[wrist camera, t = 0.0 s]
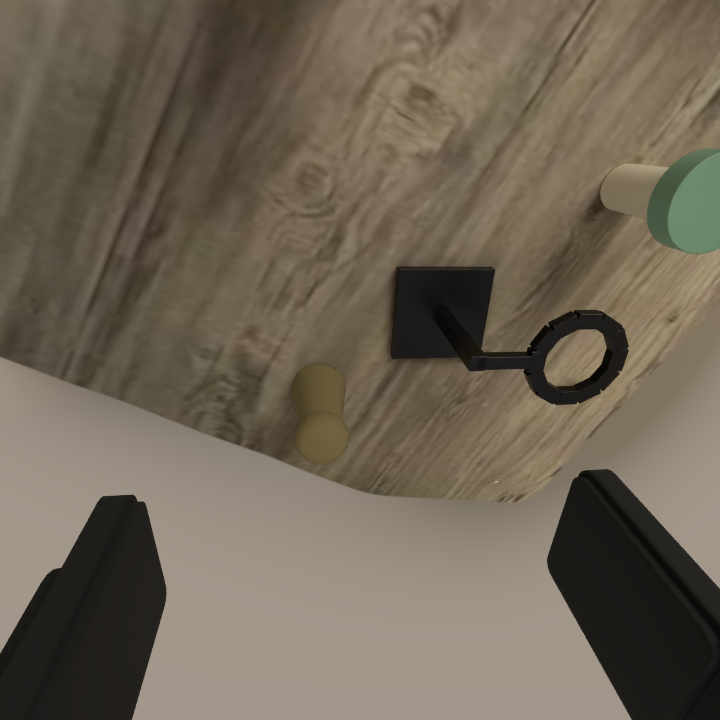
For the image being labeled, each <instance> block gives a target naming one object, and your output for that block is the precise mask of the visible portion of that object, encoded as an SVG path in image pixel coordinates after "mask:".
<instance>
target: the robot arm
mask: <svg viewBox="0 0 720 720" xmlns="http://www.w3.org/2000/svg"><path fill="white" fill-rule="evenodd" d="M547 564H548V569H549V572H550V574H551V576H552V578H553V580H554V581H555V583H556V585H557V587H558V589H559V590H560V592H561V594H562V596H563V597H564V599H565V601H566V603H567V604H568V606H569V608H570V610H571V612H572V614H573V615H574V617H575V619H576V621H577V622H578V624H579V626H580V628H581V630H582V631H583V633H584V635H585V637H586V639H587V640H588V642H589V644H590V646H591V647H592V649H593V651H594V653H595V655H596V656H597V658H598V660H599V662H600V663H601V665H602V667H603V669H604V671H605V673H606V674H607V676H608V678H609V680H610V681H611V683H612V685H613V687H614V689H615V690H616V692H617V694H618V696H619V698H620V699H621V701H622V703H623V705H624V706H625V708H626V710H627V712H628V714H629V716H630V717H631V719H632V720H720V589H719V588H718V586H717V585H716V584H715V583H714V582H713V581H712V580H711V579H710V578H709V576H708V575H707V574H706V573H705V572H704V571H703V570H702V569H701V568H700V567H699V565H698V564H697V563H696V562H695V561H694V560H693V559H692V558H691V557H690V556H689V554H688V553H687V552H686V551H685V550H684V549H683V548H682V547H681V546H680V545H679V543H678V542H677V541H676V540H675V539H674V538H673V537H672V536H671V535H670V534H669V533H668V532H667V530H666V529H665V528H664V527H663V526H662V525H661V524H660V523H659V522H658V520H657V519H656V518H655V517H654V516H653V515H652V514H651V513H650V512H649V511H648V509H647V508H646V507H645V506H644V505H643V504H642V503H641V502H640V501H639V500H638V498H637V497H636V496H635V495H634V494H633V493H632V492H631V491H630V490H629V489H628V488H627V486H626V485H625V484H624V483H623V482H622V481H621V480H620V479H619V478H618V476H617V475H616V474H615V473H613V472H612V471H611V470H608V469H604V470H586V471H582V472H581V473H580V474H579V476H578V477H577V478H575V479H574V480H573V481H572V484H571V487H570V490H569V493H568V496H567V499H566V503H565V505H564V508H563V512H562V515H561V517H560V520H559V524H558V527H557V530H556V533H555V536H554V539H553V542H552V545H551V548H550V551H549V554H548V559H547ZM165 602H166V585H165V580H164V576H163V572H162V569H161V564H160V561H159V556H158V552H157V548H156V544H155V540H154V536H153V532H152V528H151V523H150V519H149V515H148V511H147V507H146V504H145V503H144V502H137V499H136V497H135V496H134V495H119V496H103V497H102V498H100V500H99V501H98V502H97V504H96V506H95V508H94V510H93V512H92V513H91V515H90V517H89V519H88V521H87V523H86V524H85V526H84V528H83V530H82V532H81V533H80V535H79V537H78V539H77V541H76V543H75V544H74V546H73V548H72V550H71V552H70V554H69V555H68V557H67V559H66V561H65V563H64V564H63V566H62V568H58V569H54V570H52V571H51V572H50V573H48V574H47V575H46V577H45V578H44V580H43V581H42V582H41V584H40V586H39V588H38V589H37V591H36V593H35V594H34V596H33V598H32V600H31V601H30V603H29V605H28V606H27V608H26V610H25V612H24V613H23V615H22V617H21V619H20V620H19V622H18V624H17V626H16V627H15V629H14V631H13V633H12V635H11V636H10V638H9V639H8V641H7V643H6V645H5V646H4V648H3V650H2V652H1V653H0V720H132V717H133V714H134V710H135V707H136V703H137V700H138V696H139V693H140V690H141V686H142V683H143V679H144V676H145V672H146V669H147V665H148V662H149V658H150V655H151V651H152V648H153V645H154V641H155V638H156V634H157V631H158V627H159V624H160V620H161V617H162V613H163V610H164V606H165Z"/></svg>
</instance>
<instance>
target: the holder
mask: <svg viewBox="0 0 720 720" xmlns="http://www.w3.org/2000/svg"><path fill="white" fill-rule="evenodd" d="M494 273H495V269H494V268H492V267H397V277H396V290H395V303H394V317H393V330H392V344H391V357H392V359H402V358H450V357H460V359H461V360H462V361H463V363H464V364H465V366H466V367H467V369H468V370H469V371H484V370H497V369H524V371H523V372H524V374H525V377H526V379H527V382H528V384H529V387H530V389H531V390H532V391H533V392H534V393H535V394H536V395H537V396H539V397H540V398H542V399H544V400H546V401H547V402H549V403H551V404H555V405H566V404H577V402H578V403H582V402H584V401H586V400H588V399H590V398H592V397H594V396H596V395H598V394H600V393H601V392H600V390H602V391H604V390H605V389H606V388H607V387H608V386H609V385H610V384H611V382H612V381H613V380H614V379H615V378H616V377H617V376H618V375H619V372H618V371H622V369H623V366H624V363H625V360H626V357H627V354H628V351H629V350H628V349H627V348H628V347H629V346H628V342H627V338H626V334H625V330H624V328H623V327H622V325H621V324H619V323H618V322H617V321H615V320H614V319H612V318H611V317H609V316H608V315H607V314H605V313H603V312H602V311H598V310H574V313H573V312H572V311H570V312H568V313H566V314H564V315H562V316H560V317H558V318H556V319H554V320H552V321H550V322H549V323H548V324H549V327H548V326H547V325H545V326H544V327H543V328H542V329H541V331H540V332H539V333H538V334H537V336H536V337H535V338H534V339H533V340H532V342H531V343H530V345H531V346H532V347H528V348H527V352H485V353H484V352H483V351H482V350H481V347H482V341H483V335H484V330H485V324H486V318H487V313H488V307H489V301H490V296H491V290H492V284H493V279H494ZM579 329H597V330H598V331H600V332H601V333H603V335H604V339H605V343H606V346H607V348H606V352H605V355H604V358H603V361H602V364H601V365H600V367H599V368H598V369H597V370H596V371H595V372H594V373H593V374H592V375H591V376H590V378H588V379H586V380H584V381H581V382H579V383H577V384H575V385H573V386H554V385H553V384H551V383H549V382H548V381H547V379H546V377H545V374H544V371H543V370H544V366H545V362H546V358H547V354H548V353H549V351H550V350H551V349H552V348H553V347H554V345H555V344H556V343H557V342H558V341H559V340H560V339H561V338H563V337H565V336H567V335H569V334H571V333H573V332H575V331H577V330H579Z"/></svg>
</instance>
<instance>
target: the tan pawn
mask: <svg viewBox="0 0 720 720" xmlns="http://www.w3.org/2000/svg"><path fill="white" fill-rule="evenodd" d="M292 392H293V398H294V402H295V407H296V412H297V416H298V421H299V423H298V425H297V427H296V430H295V434H294V441H295V446H296V449H297V451H298V452H299V454H300V455H301V456H302V457H303V458H304V459H305V460H307V461H309V462H311V463H313V464H320V465H321V464H328V463H331V462H334V461H336V460H337V459H338V458H340V457H341V456H342V455H343V453H344V452H345V451H346V449H347V446H348V443H349V431H348V428H347V426H346V424H345V422H344V420H343V408H344V397H345V381H344V379H343V377H342V375H341V374H340V373H339V372H338V371H337V370H336V369H334V368H332V367H330V366H327V365H322V364H318V365H311V366H308V367H306V368H304V369H302V370H301V371H300V372H299V373H298V374H297V375H296V377H295V378H294V380H293V384H292Z"/></svg>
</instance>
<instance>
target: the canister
mask: <svg viewBox="0 0 720 720" xmlns="http://www.w3.org/2000/svg"><path fill="white" fill-rule="evenodd" d="M600 197H601V201H602V203H603V205H604V206H605V207H606V208H607V209H609V210H612V211H616V212H620V213H624V214H628V215H631V216H635V217H639V218H643V219H647V224H648V227H649V230H650V232H651V234H652V236H653V237H654V238H655V239H656V240H657V241H658V242H659V243H661V244H662V245H665V246H667V247H671V248H674V249H677V250H680V251H683V252H686V253H690V254H703V253H708V252H712V251H715V250H717V249H719V248H720V149H702V150H697V151H694V152H692V153H690V154H687V155H685V156H684V157H682V158H681V159H679V160H678V161H676V162H675V163H674V164H673V165H672V166H671V167H669V168H668V167H659V166H649V165H639V164H629V163H628V164H622V165H619V166H617V167H616V168H614V169H613V170H612V171H611V172H610V173H609V174H608V175H607V176H606V178H605V179H604V181H603V183H602V186H601V191H600Z"/></svg>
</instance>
